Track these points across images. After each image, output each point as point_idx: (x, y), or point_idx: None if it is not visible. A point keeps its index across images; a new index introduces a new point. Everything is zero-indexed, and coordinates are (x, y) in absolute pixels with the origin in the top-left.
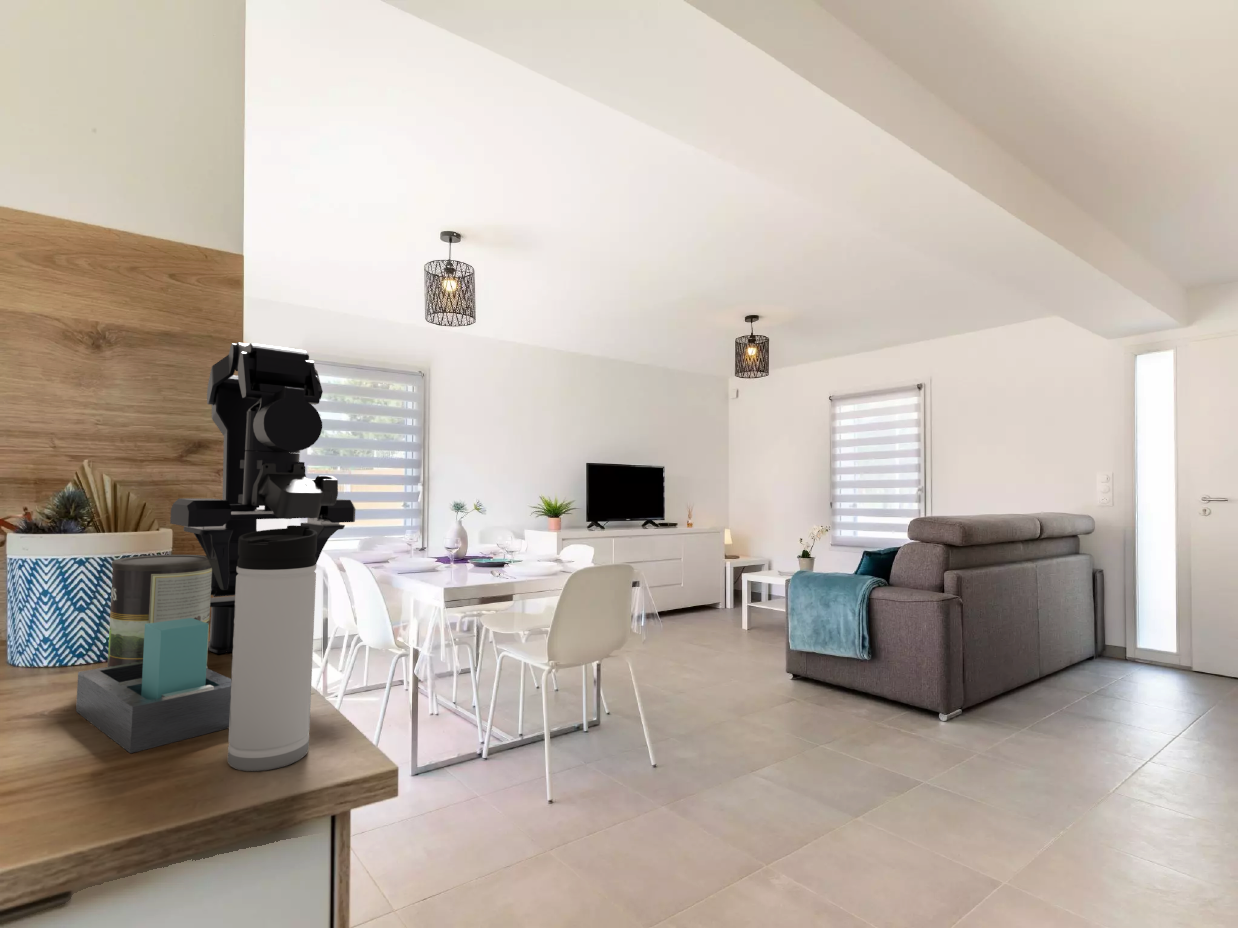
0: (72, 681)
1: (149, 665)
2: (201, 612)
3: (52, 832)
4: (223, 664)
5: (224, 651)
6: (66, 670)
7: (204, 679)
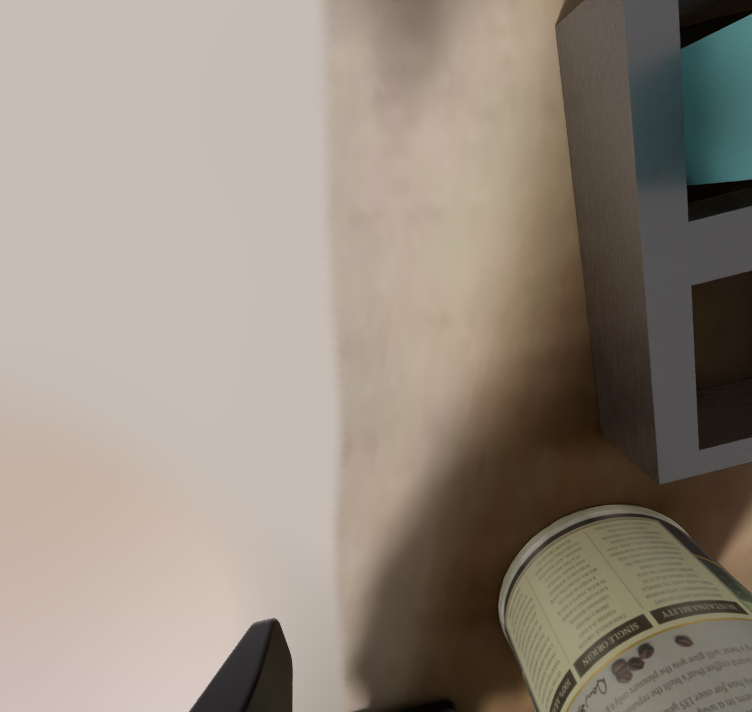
0: None
1: None
2: (623, 699)
3: None
4: (458, 613)
5: (438, 705)
6: None
7: (733, 24)
